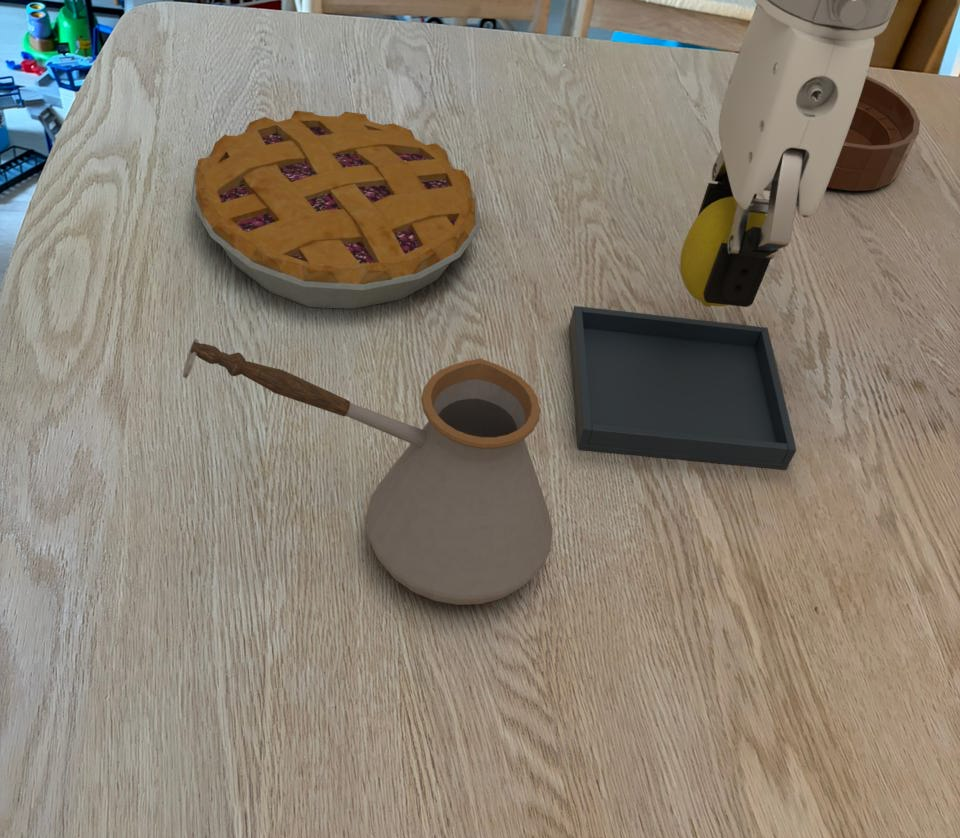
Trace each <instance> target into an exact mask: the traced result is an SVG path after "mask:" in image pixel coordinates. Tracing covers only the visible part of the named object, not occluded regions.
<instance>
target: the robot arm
mask: <svg viewBox="0 0 960 838" xmlns="http://www.w3.org/2000/svg"><path fill="white" fill-rule="evenodd" d="M753 1H754V3H755V4H756V5H755V9H754V10H753V14H752V17H751V19H750V21H749V24H748V27H747V30H746V32H745V35H744V38H743V40H742V43H741V46H740V49H739V52H738V54H737V56H736V60H735V62H734V65H733V68H732V72H731V74H730V77H729V80H728V85H727V88H726V91H725V94H724V98H723V100H722V105H721V108H720V112H719V118H718V136H719V142H720V147H721V149H720V151H719V153H718V155H717V157H716V159H715V161H714V163H713V165H712V170H711V177H710V179H711V181H712V182H708V183H707V187H706V190H705V193H704V194H703V195H704V196H703V199H702V202H701V205H700V208H699V210H698V213H697V217H698V215H699V214H700V213H701V212H702V211H703V210H704V209H705V208H706V207H707V206H709V205H710V204H711V203H713V202H715V201H717V200H720V199H723V198H727V197H734V199H735V200H736V202H737V203H738V204H737V208H736V212H735V216H734V220H733V224H732V228H731V232H730V236H729V240H728V243H721V245H720V248H719V251H718V254H717V256H716V259H715V262H714V265H713V268H712V270H711V273H710V276H709V279H708V281H707V284H706V287H705V290H704V293H703V294H704V299H705V301H706V302H708V303H715V304H724V305H727V306H735V307H741V308H742V307H743V308H748V307H750V306H752V305H753V303H754V302H755V299H756V296H757V294H758V291H759V289H760V287H761V285H762V283H763V279H764V277H765V274H766V273H767V270H768V267H769V265H770V262H771V260H773V259H774V258H775V256H776V254H777V252H778V251H779V250H780V249H783V248H786V247H788V246H789V244H790V242H791V239H792V234H793V228H794V222H795V214H796V210H797V214H798V216H801V217H803V218H811V217H812V216H814V215H815V214H816V212H817V211H818V209H819V207H820V205H821V203H822V200H823V198H824V196H825V193H826V190H827V188H828V187H827V186H828V183H829V181H830V178H831V175H832V173H833V170H834V168H835V165H836V162H837V160H838V157H839V155H840V152H841V149H842V147H843V144H844V141H845V138H846V136H847V133H848V130H849V128H850V125H851V122H852V119H853V116H854V113H855V110H856V107H857V104H858V101H859V98H860V95H861V92H862V89H863V85H864V82H865V79H866V76H868V71H869V68H870V65H871V60H872V56H873V52H874V48H875V44H876V43H875V37H878V36H879V35H881V34H883V33H884V31H885V30H886V29H887V28H888V25H889V23H890V20H891V18H892V15H893V14H894V11H895V9H896V7H897V4H898V2H899V0H753ZM713 182H715V183H713ZM764 191H766V192H769V197H768V198H767V199H766V198H759V197H758V196H759V195H761V194H762V193H763V192H764ZM750 212H754V213H762V214H766V220H765V222H764V224H763V225H761V227H752V228H750V229H749V230H747V231H745V230H746V226H747V222H748V219H749V215H750ZM697 217H696V218H697Z"/></svg>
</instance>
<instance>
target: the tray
mask: <svg viewBox="0 0 960 838" xmlns="http://www.w3.org/2000/svg"><path fill="white" fill-rule="evenodd" d="M568 332H569V334H568V335H569V344H570V359H571V361H570V362H571V372H572V373H571V374H572V387H573V388H572V389H573V401H574V402H573V403H574V412H575V413H574V417H575V428H576V429H575V430H576V443H577V450H580V451H589V452H590V451H592V452H602V453H611V454H621V455H630V456H631V455H633V456H641V457H650V458H651V457H652V458H661V459H672V460H673V459H674V460H683V461H694V462H702V463H714V464H725V465H734V466H745V467H754V468H755V467H756V468H765V469H776V470H784V471H785V470H787V469H788V468H789V465H790V464H791V462H792V460H793V457H794V456H795V454H796V452H797V445H796V442H795V437H794V432H793V429H792V425H791V420H790V417H789V413H788V408H787V403H786V399H785V395H784V391H783V386H782V383H781V378H780V374H779V370H778V366H777V361H776V358H775V353H774V349H773V345H772V341H771V336H770V332H769V328H768V327H766V326H758V325H749V324H742V323H741V324H740V323H731V322H722V321H715V320H705V319H696V318H688V317H687V318H686V317H678V316H670V315H669V316H668V315H660V314H650V313H642V312H641V313H640V312H634V311H633V312H632V311H624V310H615V309H607V308H598V307H588V306H580V305H574V306H573V309H572V313H571V317H570V321H569V326H568Z"/></svg>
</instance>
